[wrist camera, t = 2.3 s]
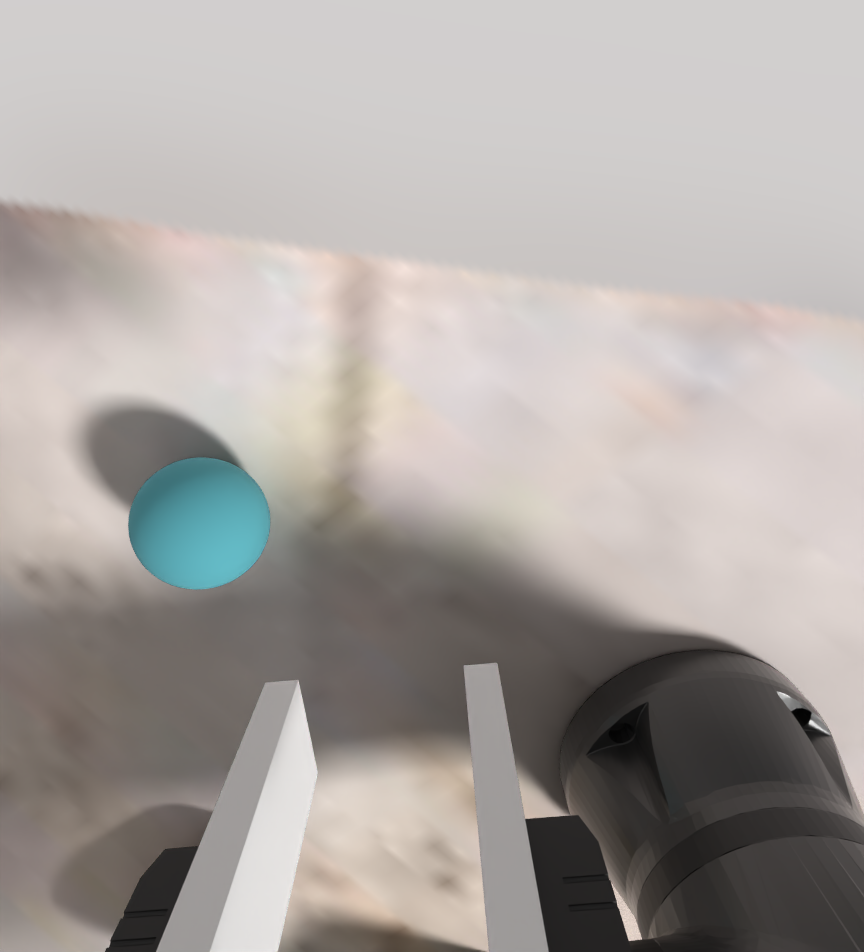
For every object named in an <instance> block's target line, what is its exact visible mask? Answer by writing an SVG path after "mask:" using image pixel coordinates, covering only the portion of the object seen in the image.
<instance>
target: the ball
mask: <svg viewBox="0 0 864 952" xmlns="http://www.w3.org/2000/svg"><path fill="white" fill-rule="evenodd" d="M128 528H129V537H130V541H131V544H132V547H133V550H134V552H135V554H136V556H137V558H138V559H139V561H140V562H141V563H142V565H143V566H144V567H145V568H146V569H147V570H148V571H149V572H150V573H151V574H153V575H154V576H155V577H157V578H158V579H160V580H162V581H164V582H166V583H168V584H170V585H173V586H176V587H181V588H186V589H195V590H196V589H208V588H215V587H218V586H222V585H224V584H226V583H229V582H231V581H233V580H235V579H237V578H238V577H240V576H241V575H242V574H244V573H245V572H246V571H247V570H249V569H250V568H251V567H252V565H253V564H254V563H255V562H256V561H257V559H258V558H259V557H260V555H261V554H262V551H263V549H264V547H265V545H266V543H267V540H268V536H269V530H270V513H269V507H268V504H267V500H266V498H265V496H264V493H263V492H262V490H261V488H260V487H259V485H258V484H257V483H256V482H255V480H254V479H253V478H252V477H251V476H250V475H248V474H247V473H246V472H245V471H243V470H242V469H240V468H239V467H237V466H235V465H233V464H231V463H229V462H226V461H223V460H219V459H214V458H204V457H199V458H189V459H184V460H180V461H177V462H174V463H172V464H170V465H167V466H165V467H164V468H162V469H160V470H159V471H157V472H156V473H155V474H154V475H152V476H151V477H150V478H149V479H148V480H147V481H146V482H145V483H144V484H143V486H142V487H141V488H140V490H139V491H138V493H137V495H136V496H135V498H134V501H133V503H132V506H131V510H130V514H129V523H128Z"/></svg>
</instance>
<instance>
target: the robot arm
mask: <svg viewBox="0 0 864 952" xmlns="http://www.w3.org/2000/svg"><path fill="white" fill-rule="evenodd" d="M464 677H465V688H466V699H467V710H468V722H469V733H470V744H471V755H472V766H473V778H474V789H475V800H476V811H477V823H478V834H479V845H480V856H481V867H482V879H483V890H484V901H485V912H486V924H487V935H488V946H489V952H864V814H863V811H862V809H861V806H860V804H859V801H858V799H857V796H856V794H855V791H854V789H853V786H852V784H851V782H850V779H849V777H848V774H847V772H846V769H845V767H844V764H843V762H842V759H841V757H840V754H839V752H838V749H837V747H836V744H835V742H834V739H833V737H832V735H831V732H830V730H829V729H828V727H827V725H826V723H825V722H824V720H823V719H822V717H821V716H820V714H819V713H818V711H817V710H816V709H815V708H814V707H813V706H812V704H811V703H810V702H809V701H808V700H807V699H806V698H805V697H804V696H803V694H802V693H801V692H800V691H799V690H798V689H797V688H796V687H795V685H794V684H793V683H792V682H791V681H790V680H789V679H788V678H786V677H785V676H784V675H783V674H781V673H780V672H779V671H777V670H776V669H774V668H772V667H771V666H769V665H767V664H765V663H763V662H761V661H758V660H756V659H753V658H750V657H747V656H744V655H740V654H735V653H730V652H723V651H688V652H680V653H674V654H669V655H665V656H661V657H658V658H655V659H651V660H649V661H646V662H643V663H641V664H638V665H636V666H634V667H632V668H630V669H628V670H626V671H624V672H622V673H621V674H619V675H617V676H616V677H614V678H613V679H611V680H610V681H608V682H607V683H606V684H604V685H603V686H602V687H601V688H599V689H598V690H597V691H596V692H595V693H594V694H593V695H592V696H591V697H590V698H589V699H588V700H587V701H586V702H585V703H584V704H583V706H582V707H581V708H580V709H579V711H578V712H577V714H576V715H575V716H574V718H573V720H572V721H571V723H570V725H569V727H568V729H567V732H566V734H565V737H564V740H563V743H562V747H561V752H560V763H559V768H560V777H561V782H562V786H563V790H564V793H565V797H566V801H567V805H568V808H569V812H570V815H571V816H559V817H546V818H533V819H525V816H524V810H523V805H522V799H521V794H520V788H519V782H518V777H517V771H516V765H515V760H514V754H513V749H512V743H511V737H510V732H509V726H508V720H507V715H506V709H505V704H504V698H503V692H502V687H501V681H500V675H499V670H498V664H497V663H488V664H476V665H464ZM317 775H318V771H317V766H316V761H315V756H314V752H313V747H312V742H311V737H310V733H309V728H308V723H307V718H306V713H305V709H304V704H303V699H302V694H301V690H300V685H299V680H289V681H277V682H265V685H264V687H263V690H262V692H261V694H260V697H259V699H258V702H257V704H256V707H255V709H254V712H253V714H252V717H251V719H250V722H249V724H248V726H247V729H246V731H245V734H244V736H243V739H242V741H241V744H240V746H239V749H238V751H237V754H236V756H235V759H234V761H233V763H232V766H231V768H230V771H229V773H228V776H227V778H226V781H225V783H224V786H223V788H222V791H221V793H220V795H219V798H218V800H217V803H216V805H215V808H214V810H213V813H212V815H211V818H210V820H209V823H208V825H207V828H206V830H205V832H204V835H203V837H202V840H201V842H200V845H199V846H197V847H184V848H171V849H165V850H164V851H163V852H162V854H161V855H160V856H159V857H158V858H157V859H156V861H155V862H154V863H153V864H152V865H151V866H150V868H149V869H148V870H147V871H146V872H145V873H144V875H143V876H142V877H141V878H140V880H139V882H138V884H137V886H136V888H135V890H134V892H133V895H132V897H131V899H130V901H129V903H128V905H127V907H126V909H125V911H124V917H123V919H120V922H119V924H118V926H117V928H116V930H115V932H114V934H113V936H112V938H111V940H110V941H111V943H110V947H109V948H107V949H106V951H105V952H278V949H279V944H280V940H281V935H282V931H283V927H284V922H285V918H286V913H287V909H288V904H289V900H290V895H291V891H292V887H293V882H294V878H295V873H296V869H297V864H298V860H299V855H300V851H301V846H302V842H303V838H304V833H305V829H306V824H307V820H308V815H309V811H310V806H311V802H312V798H313V793H314V789H315V784H316V780H317ZM609 879H610V880H609ZM611 882H612V884H613V885H614V887H615V888H616V890H617V891H618V893H619V894H620V895H621V897H622V898H623V900H624V901H625V903H626V904H627V906H628V907H629V909H630V910H631V912H632V913H633V915H634V917H635V919H636V922H637V925H638V927H639V930H640V933H641V936H642V940H635V941H628V938H627V934H626V931H625V928H624V924H623V921H622V918H621V915H620V911H619V908H618V907H617V901H616V898H615V895H614V891H613V888H612V885H611Z"/></svg>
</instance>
